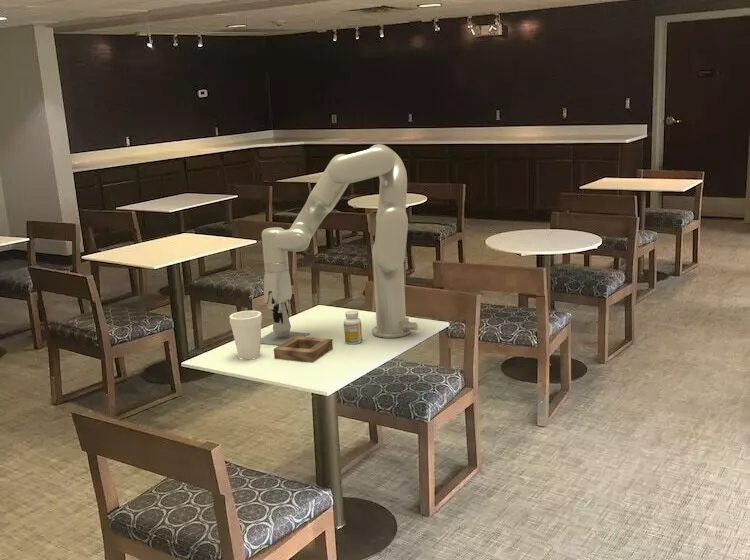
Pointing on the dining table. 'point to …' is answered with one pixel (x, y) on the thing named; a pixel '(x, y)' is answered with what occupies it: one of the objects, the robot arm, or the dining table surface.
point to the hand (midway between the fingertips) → (281, 322)
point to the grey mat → (280, 338)
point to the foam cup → (247, 333)
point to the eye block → (303, 349)
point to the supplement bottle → (352, 328)
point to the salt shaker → (283, 328)
